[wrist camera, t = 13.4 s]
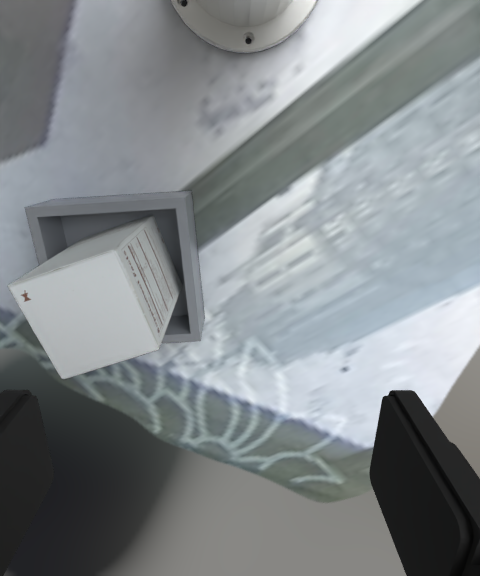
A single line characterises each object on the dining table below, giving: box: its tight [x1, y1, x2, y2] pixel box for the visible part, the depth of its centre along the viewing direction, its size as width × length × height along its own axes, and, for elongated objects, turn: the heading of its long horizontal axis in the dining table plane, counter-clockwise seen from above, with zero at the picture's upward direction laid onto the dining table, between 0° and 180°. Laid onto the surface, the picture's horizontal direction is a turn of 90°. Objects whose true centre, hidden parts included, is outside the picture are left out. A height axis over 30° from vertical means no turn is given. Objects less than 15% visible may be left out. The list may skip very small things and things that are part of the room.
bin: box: [25, 190, 205, 343], centre depth 35 cm, size 13×13×5 cm
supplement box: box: [8, 215, 182, 379], centre depth 30 cm, size 7×7×13 cm
